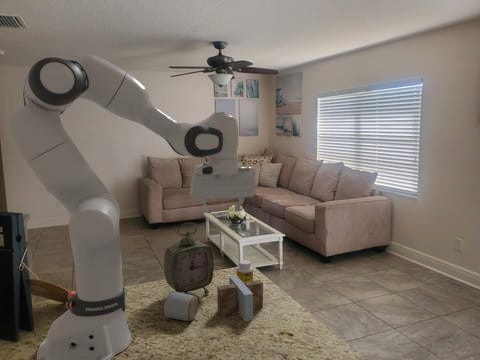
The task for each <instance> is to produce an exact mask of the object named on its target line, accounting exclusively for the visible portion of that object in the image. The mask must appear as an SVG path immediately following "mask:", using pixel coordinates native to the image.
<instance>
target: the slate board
mask: <svg viewBox="0 0 480 360" xmlns="http://www.w3.org/2000/svg"><path fill="white" fill-rule="evenodd" d="M228 281H229V282H228V283H229V284H234V285H235V286H236V297H237V299H238V300H239V312H238V313H239V315H240V316H241V318H242V319H243V320H244V321H245V322H246V321H247V322H248V321H253V319H254V318H253V317H254V309H253V293H252V292H251V291H250V290H249V289H248V288H247V287H246V285H245V284H244V283H243V282H242V281H241V280H240V279H239V278H238V277H237V275H233V276H232V275H231V276H229V280H228ZM229 284H228V285H229Z"/></svg>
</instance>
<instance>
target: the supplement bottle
mask: <svg viewBox="0 0 480 360" xmlns="http://www.w3.org/2000/svg"><path fill="white" fill-rule="evenodd" d="M251 263H252V262H251V261H250V260H247V259H244V260H243V259H242V260H239V262H238V266H237V268H236V276H237V277H238V278H239V279H240V280H241V281H242V282H243V283H244V284H245V282H249V281H254V268H253V266H252V264H251Z"/></svg>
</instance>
